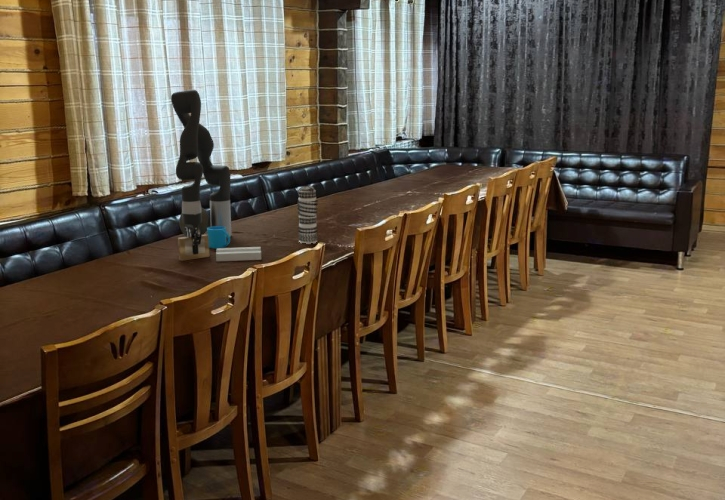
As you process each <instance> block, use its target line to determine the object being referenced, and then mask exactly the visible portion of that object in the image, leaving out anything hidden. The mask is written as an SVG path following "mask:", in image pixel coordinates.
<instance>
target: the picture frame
mask: <svg viewBox="0 0 725 500" xmlns="http://www.w3.org/2000/svg"><path fill="white" fill-rule="evenodd" d="M193 238H194V237H193ZM196 242H197V241H196ZM177 247H178V260H179V261H183V262H184V261H188V260H189V261H190V260H194V259H201V258H202V259H203V258H209V257H210V248H209V239H208V235H207V233H204V234H203V235H202V237H201V243H200V244H199V245H198V254H193V248H192V240H191V239H190V237H186V236H183V237H178V238H177Z"/></svg>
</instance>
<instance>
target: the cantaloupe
mask: <svg viewBox="0 0 725 500" xmlns="http://www.w3.org/2000/svg"><path fill="white" fill-rule="evenodd" d="M201 214H202V222H201V223H200V224H198V227H199V232H202V235H205V234H206V233H207V228H208V227H210V223H211V219H210V216H209V214H208V212H207V210H206V209H205V208H204V207H202V206H201ZM178 225H179V228H180V231H181V232H182V234H183V235H184V237H186V235H185V230H184V227H187V224H184V223H183V216H182V213H181V214H180V216H179V220H178Z"/></svg>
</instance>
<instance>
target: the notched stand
mask: <svg viewBox="0 0 725 500" xmlns="http://www.w3.org/2000/svg"><path fill="white" fill-rule="evenodd" d="M259 260H262V250H261V246H249V247H245V246H243V247H223V248H216V252H215V262H233V261H236V262H237V261H259Z"/></svg>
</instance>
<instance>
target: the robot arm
mask: <svg viewBox="0 0 725 500" xmlns="http://www.w3.org/2000/svg"><path fill="white" fill-rule="evenodd" d="M170 100H171V105H172V107H173V110H174V112H175V114H176V116H177V117H178V119H179V121H180V123H181V124H182V126H183V130H182V131H181V134H180V138H179V157H178V162H177V164H176V167H175V176H176V177H177V178H178V180H179V181H192V180H194V181H193V183H191V184H188V185H183V186H182V188H181V201H182V202H181V214H182V216H183V223H184V224H187V227H184V230H185V235H186V236H185V235H184V236H185V237H190V239H191V240H192V248H193V254H198V245H199V244H200V243H201V237H202V232H199V227H198V224H200V223H201V222H202V214H201V207H202V204H201V194H200V193H201V182H202V178H203V177H204V180H205V181H206V183H207V184H208V185H210V186H219V189H218V190H217V191H215V192H212V193H210V194H209V212H210V216H209V217H210V227H213V226H223V227H226V232H227V233H228V234H229V236H230V237H232V218H231V217H232V215H231V170H230V168H229V167H228V166H227V165H217V164H216V165H215V164H213V163H212V162H211V156H212V153H213V151H214V146H215V143H214V140H213V137H212V135H211V133H210V131H209V130H208V129H207V128H206V127H205V126H204V125H203V124H202V123H200V121H201V120H200V119H201V111H202V100H201V96H200V93H199V92H198V91H197V90H196V89H188V90H187V89H186V90H182V91H176V92H173V93H172V94H171V96H170ZM195 159H197V160H198V161H192V160H195ZM193 237H194V238H193ZM226 239H228V238H227V236H226ZM196 241H197V242H196Z"/></svg>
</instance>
